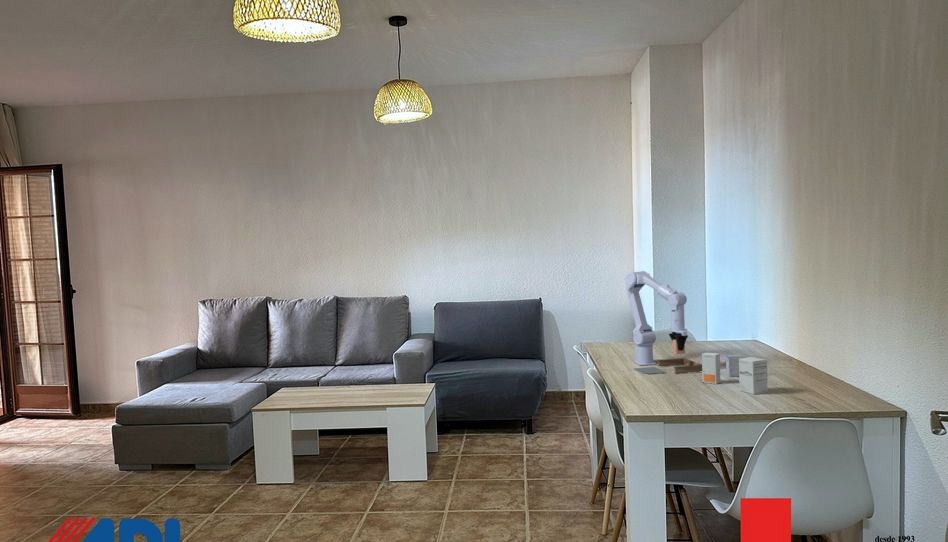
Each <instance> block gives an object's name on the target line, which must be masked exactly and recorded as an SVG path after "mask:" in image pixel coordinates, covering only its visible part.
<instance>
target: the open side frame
mask: <svg viewBox="0 0 948 542" xmlns="http://www.w3.org/2000/svg"><path fill="white" fill-rule="evenodd" d="M657 361H658V364H657V365H658V367H659V366H664V367H671V366H670V365H678V366H673V367H674V374H675V373H682V374H689V373H688V372H696V373H701V372H700V371H702V363H699V362H696V361H693V360H691V359H688V358H686V357H683V358H669V359H658V360H657ZM685 365H686V366H685Z"/></svg>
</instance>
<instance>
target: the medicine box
mask: <svg viewBox="0 0 948 542" xmlns="http://www.w3.org/2000/svg"><path fill="white" fill-rule="evenodd" d="M748 357H749V356H747V355H746V354H726V356H725V360H726V363H725V364H726V367H725V368H726V369H725V370H726V376H727V377H729V378H733V377H732V376H735V377H738V376H739V359H741V358H748ZM735 377H734V378H735Z"/></svg>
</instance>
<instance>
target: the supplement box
mask: <svg viewBox="0 0 948 542" xmlns="http://www.w3.org/2000/svg"><path fill="white" fill-rule="evenodd" d="M747 357H748V358H741V359H739V380H738V381H739V391H740V392H744V393H747V394H752V395H759V394H765V393H768V388H769V387H768V359H765V358H759V357H754V356H747Z"/></svg>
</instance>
